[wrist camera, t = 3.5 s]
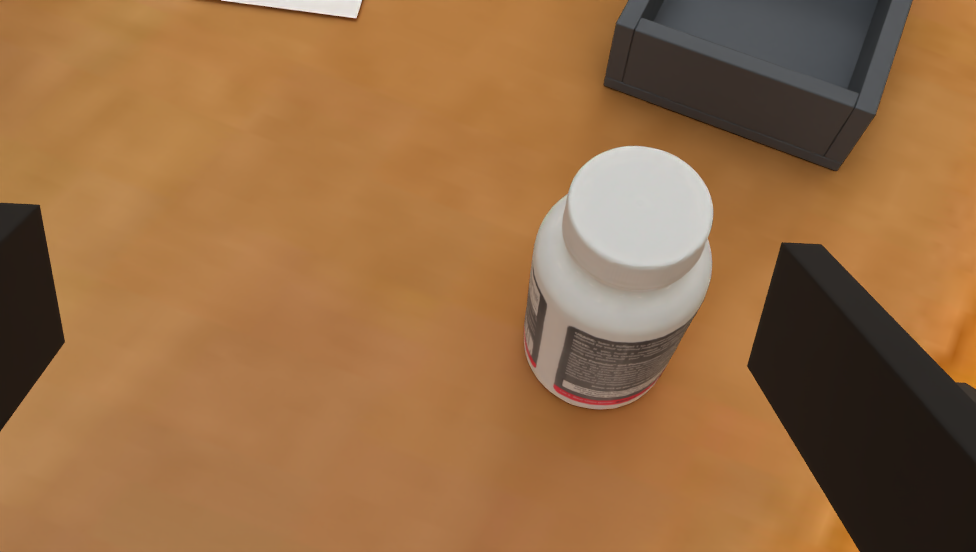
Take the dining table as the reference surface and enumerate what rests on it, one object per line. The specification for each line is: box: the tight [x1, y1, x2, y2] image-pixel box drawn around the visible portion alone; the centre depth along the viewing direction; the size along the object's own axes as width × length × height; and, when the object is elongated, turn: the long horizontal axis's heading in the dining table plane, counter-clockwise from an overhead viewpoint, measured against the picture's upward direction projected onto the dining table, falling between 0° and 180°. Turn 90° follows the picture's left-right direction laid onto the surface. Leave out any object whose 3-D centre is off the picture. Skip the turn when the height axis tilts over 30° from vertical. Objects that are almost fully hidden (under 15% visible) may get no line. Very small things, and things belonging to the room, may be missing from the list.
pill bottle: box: [524, 146, 713, 409], centre depth 26 cm, size 5×5×10 cm
